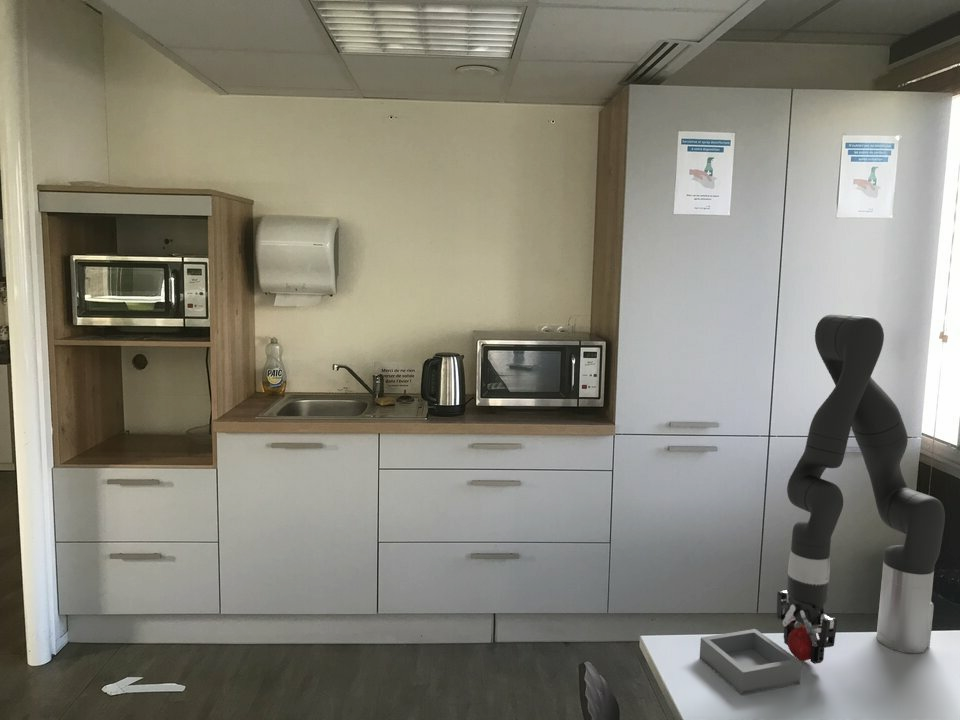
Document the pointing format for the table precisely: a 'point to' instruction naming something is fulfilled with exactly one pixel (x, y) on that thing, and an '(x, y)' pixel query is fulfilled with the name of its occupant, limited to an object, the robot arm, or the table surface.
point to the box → (750, 661)
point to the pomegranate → (800, 643)
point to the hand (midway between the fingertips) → (802, 652)
